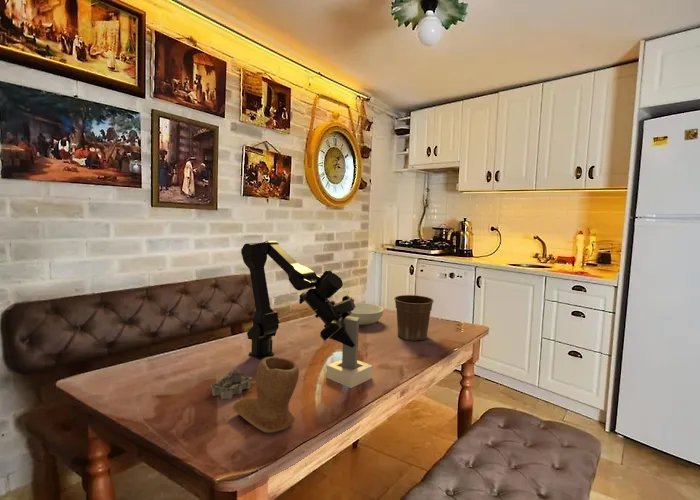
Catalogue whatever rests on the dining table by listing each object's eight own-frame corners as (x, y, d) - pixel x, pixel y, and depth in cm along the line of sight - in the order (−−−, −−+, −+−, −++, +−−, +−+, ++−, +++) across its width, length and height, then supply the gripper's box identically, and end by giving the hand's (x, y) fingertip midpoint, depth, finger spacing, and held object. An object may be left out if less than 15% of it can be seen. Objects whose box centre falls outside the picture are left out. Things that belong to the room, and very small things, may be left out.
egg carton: (237, 381, 116) (237, 367, 116) (255, 387, 112) (255, 374, 112) (207, 394, 107) (207, 379, 107) (225, 402, 103) (225, 387, 103)
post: (341, 367, 119) (344, 319, 117) (344, 362, 123) (346, 316, 121) (354, 369, 118) (357, 320, 116) (357, 364, 122) (359, 317, 120)
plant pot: (388, 339, 159) (390, 300, 157) (396, 328, 174) (398, 293, 172) (429, 345, 154) (431, 305, 152) (433, 333, 169) (435, 297, 168)
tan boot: (307, 423, 94) (309, 363, 93) (264, 442, 86) (266, 376, 84) (272, 400, 105) (273, 345, 103) (231, 414, 96) (231, 356, 95)
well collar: (350, 388, 113) (351, 375, 113) (326, 377, 120) (326, 365, 120) (371, 378, 121) (372, 365, 121) (347, 368, 128) (348, 356, 127)
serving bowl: (362, 314, 197) (363, 300, 196) (392, 324, 181) (392, 309, 180) (329, 320, 184) (329, 305, 183) (358, 331, 168) (358, 316, 167)
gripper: (332, 295, 109) (369, 337, 108) (346, 283, 128) (378, 319, 127) (305, 319, 112) (340, 361, 111) (322, 304, 130) (353, 340, 129)
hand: (354, 344), depth 119 cm, fingers closed on post, 4 cm apart
